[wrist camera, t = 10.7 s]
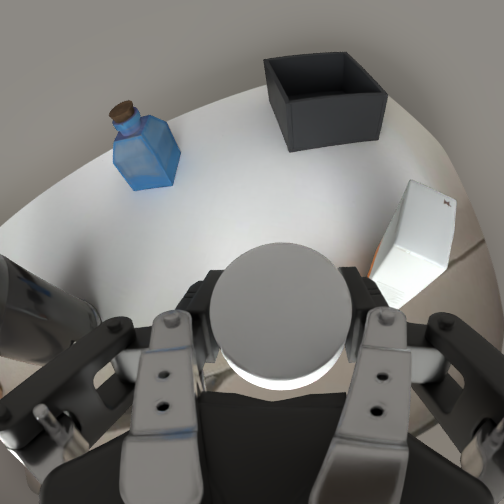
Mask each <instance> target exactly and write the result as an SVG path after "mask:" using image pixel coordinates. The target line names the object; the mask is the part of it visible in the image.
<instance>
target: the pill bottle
mask: <svg viewBox="0 0 504 504" xmlns="http://www.w3.org/2000/svg"><path fill="white" fill-rule="evenodd" d="M351 318H352V303H351V297H350V292H349V289H348V287H347V284H346V282H345V280H344V278H343V276H342V275H341V273H340V272H339V270H338V269H337V268H336V267H335V265H334V264H333V263H332V262H331V261H329V260H328V259H327V258H326V257H325V256H323V255H322V254H320V253H319V252H317V251H315V250H313V249H311V248H308V247H305V246H302V245H298V244H293V243H271V244H266V245H262V246H259V247H256V248H253V249H251V250H249V251H247V252H245V253H244V254H242V255H240V256H239V257H238V258H236V259H235V260H234V261H233V262H232V263H231V264H230V265H229V266H228V267H227V268H226V269H225V270H224V271H223V273H222V274H221V276H220V277H219V279H218V281H217V283H216V285H215V287H214V290H213V293H212V297H211V302H210V322H211V328H212V332H213V335H214V337H215V340H216V342H217V344H218V346H219V347H220V349H221V352H222V354H223V356H224V358H225V359H226V361H227V362H228V364H229V365H230V366H231V367H232V369H233V370H234V371H235V372H236V373H237V374H239V375H240V376H241V377H242V378H244V379H245V380H247V381H249V382H251V383H253V384H255V385H257V386H260V387H263V388H266V389H274V390H289V389H296V388H300V387H303V386H306V385H308V384H310V383H312V382H315V381H316V380H318V379H319V378H320V377H322V376H323V375H324V374H325V373H326V372H327V371H329V370H330V368H331V367H332V366H333V365H334V364H335V362H336V361H337V360H338V358H339V356H340V354H341V352H342V350H343V348H344V345H345V342H346V338H347V334H348V331H349V328H350V324H351Z"/></svg>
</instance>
